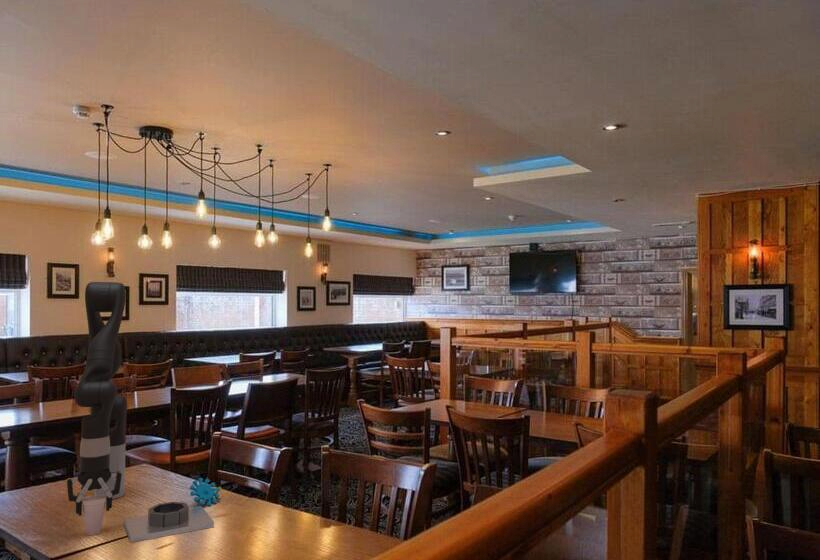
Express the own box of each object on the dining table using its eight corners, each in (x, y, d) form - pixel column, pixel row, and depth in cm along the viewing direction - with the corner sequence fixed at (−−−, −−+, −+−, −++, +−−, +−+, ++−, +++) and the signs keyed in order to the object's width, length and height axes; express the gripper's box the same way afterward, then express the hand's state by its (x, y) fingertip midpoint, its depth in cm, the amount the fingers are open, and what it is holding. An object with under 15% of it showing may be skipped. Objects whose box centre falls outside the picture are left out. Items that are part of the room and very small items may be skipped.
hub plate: (123, 523, 177) (123, 506, 177) (201, 510, 188) (201, 494, 189) (130, 542, 163) (130, 523, 163) (213, 527, 175) (214, 509, 175)
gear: (196, 505, 188) (187, 477, 194) (187, 516, 190) (179, 488, 196) (227, 501, 197) (217, 475, 202) (218, 512, 199) (209, 485, 204)
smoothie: (111, 530, 172) (112, 480, 173) (92, 538, 166) (93, 486, 167) (93, 527, 174) (95, 478, 175) (75, 535, 168) (76, 484, 169)
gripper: (121, 446, 178) (120, 504, 177) (65, 453, 170) (63, 513, 170) (124, 452, 172) (123, 512, 171) (66, 459, 164) (64, 521, 163)
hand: (93, 512), depth 170 cm, fingers closed on smoothie, 6 cm apart
